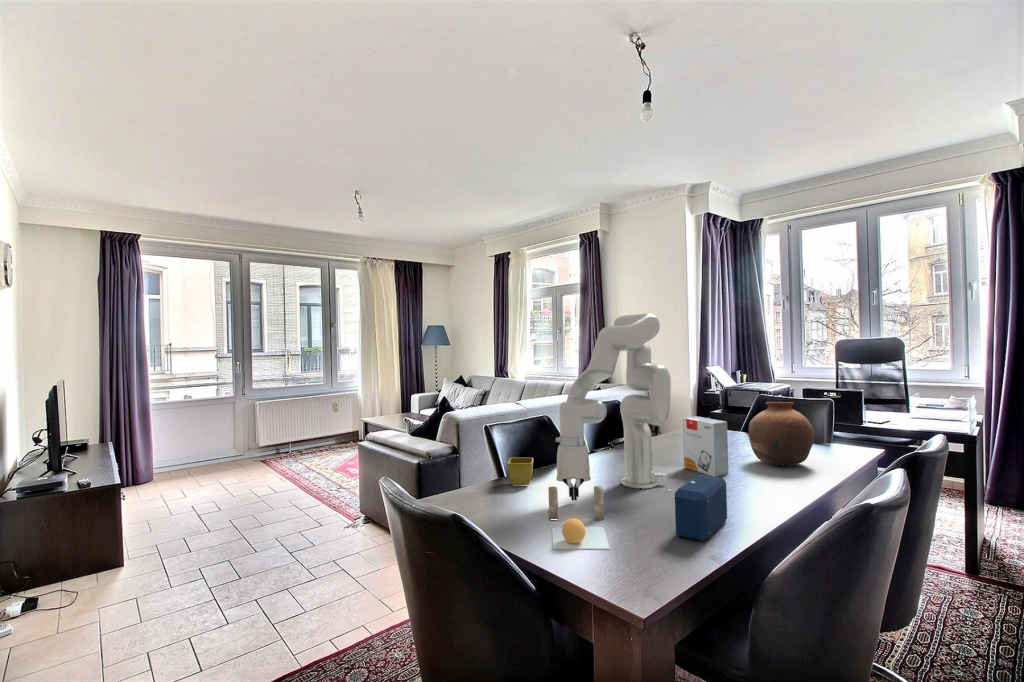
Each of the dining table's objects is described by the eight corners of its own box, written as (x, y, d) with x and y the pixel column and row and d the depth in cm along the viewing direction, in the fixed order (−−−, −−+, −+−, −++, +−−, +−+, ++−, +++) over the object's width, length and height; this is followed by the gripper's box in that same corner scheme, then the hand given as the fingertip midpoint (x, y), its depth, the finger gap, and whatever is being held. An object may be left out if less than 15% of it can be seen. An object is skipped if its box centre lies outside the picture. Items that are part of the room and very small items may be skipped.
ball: (585, 546, 122) (585, 542, 128) (586, 520, 123) (585, 517, 129) (561, 544, 123) (562, 540, 128) (561, 519, 124) (562, 516, 130)
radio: (698, 514, 144) (696, 445, 144) (729, 520, 138) (727, 448, 138) (670, 537, 127) (668, 460, 127) (705, 545, 122) (702, 464, 122)
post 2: (603, 516, 143) (602, 486, 143) (604, 520, 141) (603, 488, 141) (594, 516, 144) (593, 486, 144) (595, 520, 141) (594, 488, 141)
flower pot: (534, 481, 182) (533, 457, 182) (532, 488, 173) (532, 463, 173) (510, 481, 183) (509, 457, 183) (508, 488, 174) (507, 463, 174)
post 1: (558, 517, 144) (557, 486, 144) (558, 520, 142) (557, 489, 142) (549, 517, 145) (548, 486, 145) (549, 520, 142) (548, 489, 142)
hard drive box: (683, 468, 194) (681, 417, 194) (697, 465, 197) (696, 415, 197) (714, 477, 180) (712, 423, 180) (729, 474, 183) (728, 421, 183)
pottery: (781, 474, 181) (779, 406, 181) (736, 460, 203) (734, 400, 203) (830, 468, 187) (827, 402, 187) (781, 455, 209) (779, 396, 209)
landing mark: (603, 527, 135) (603, 527, 135) (609, 549, 121) (609, 548, 121) (552, 527, 136) (552, 527, 136) (552, 549, 122) (552, 548, 122)
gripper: (548, 444, 152) (550, 503, 152) (597, 443, 151) (599, 502, 151) (548, 439, 160) (550, 495, 160) (595, 438, 159) (596, 495, 159)
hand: (574, 499), depth 156 cm, fingers closed
